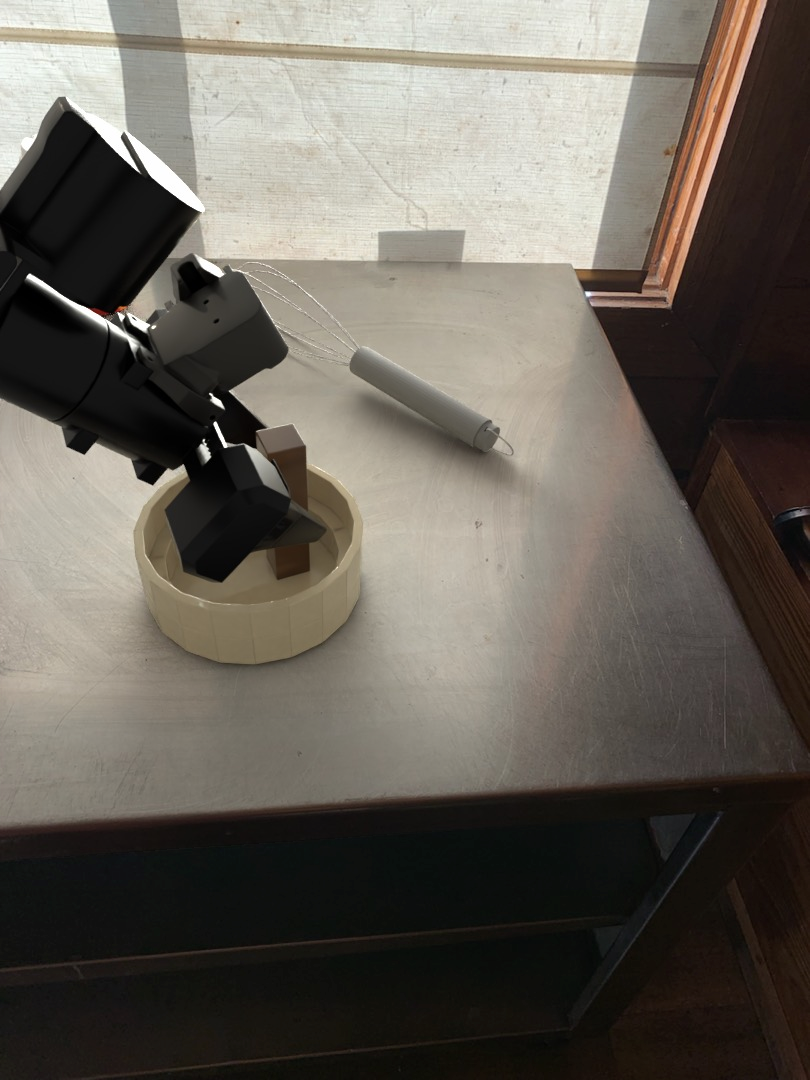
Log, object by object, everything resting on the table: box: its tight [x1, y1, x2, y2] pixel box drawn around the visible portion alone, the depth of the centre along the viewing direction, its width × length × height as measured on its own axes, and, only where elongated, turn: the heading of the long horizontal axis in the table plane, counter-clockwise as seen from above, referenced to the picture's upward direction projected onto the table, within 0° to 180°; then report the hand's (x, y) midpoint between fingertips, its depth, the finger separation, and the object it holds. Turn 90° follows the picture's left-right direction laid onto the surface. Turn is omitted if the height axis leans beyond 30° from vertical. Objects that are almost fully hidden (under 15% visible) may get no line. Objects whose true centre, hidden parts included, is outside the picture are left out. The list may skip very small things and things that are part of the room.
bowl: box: [133, 462, 364, 665], centre depth 52 cm, size 14×14×6 cm
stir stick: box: [256, 423, 310, 580], centre depth 51 cm, size 2×2×11 cm
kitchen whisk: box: [232, 261, 515, 457], centre depth 70 cm, size 6×34×6 cm, turn 50°
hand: (296, 486), depth 50 cm, fingers open, 9 cm apart
